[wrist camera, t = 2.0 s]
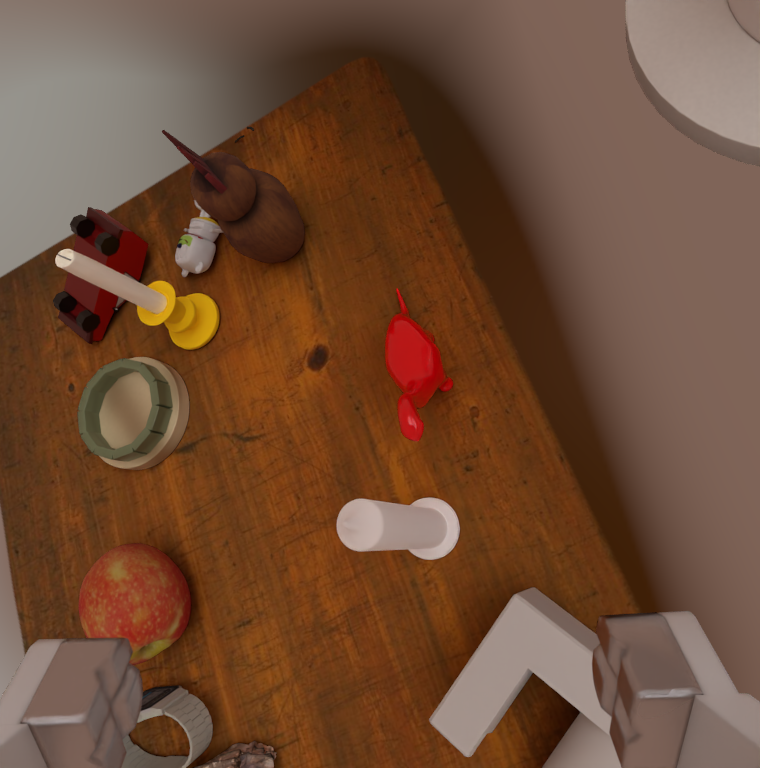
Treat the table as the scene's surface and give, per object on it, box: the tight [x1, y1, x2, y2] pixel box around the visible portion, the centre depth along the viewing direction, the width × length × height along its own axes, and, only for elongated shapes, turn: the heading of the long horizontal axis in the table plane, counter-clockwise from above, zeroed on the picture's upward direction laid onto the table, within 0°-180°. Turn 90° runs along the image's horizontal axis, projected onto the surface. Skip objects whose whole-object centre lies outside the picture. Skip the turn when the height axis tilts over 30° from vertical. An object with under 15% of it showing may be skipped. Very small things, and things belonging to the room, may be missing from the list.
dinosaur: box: [385, 289, 453, 441], centre depth 45 cm, size 4×15×12 cm, turn 20°
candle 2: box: [337, 497, 460, 560], centre depth 41 cm, size 4×4×16 cm
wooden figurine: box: [162, 130, 305, 263], centre depth 51 cm, size 7×6×15 cm
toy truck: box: [53, 207, 148, 344], centre depth 62 cm, size 6×12×5 cm, turn 143°
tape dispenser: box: [429, 587, 621, 768], centre depth 38 cm, size 19×9×6 cm, turn 53°
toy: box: [175, 127, 254, 277], centre depth 60 cm, size 7×3×15 cm
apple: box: [79, 543, 191, 665], centre depth 51 cm, size 8×8×8 cm
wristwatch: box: [121, 685, 213, 768], centre depth 50 cm, size 9×6×5 cm
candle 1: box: [55, 249, 220, 350], centre depth 52 cm, size 5×5×16 cm
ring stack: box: [77, 357, 189, 470], centre depth 58 cm, size 10×10×3 cm
